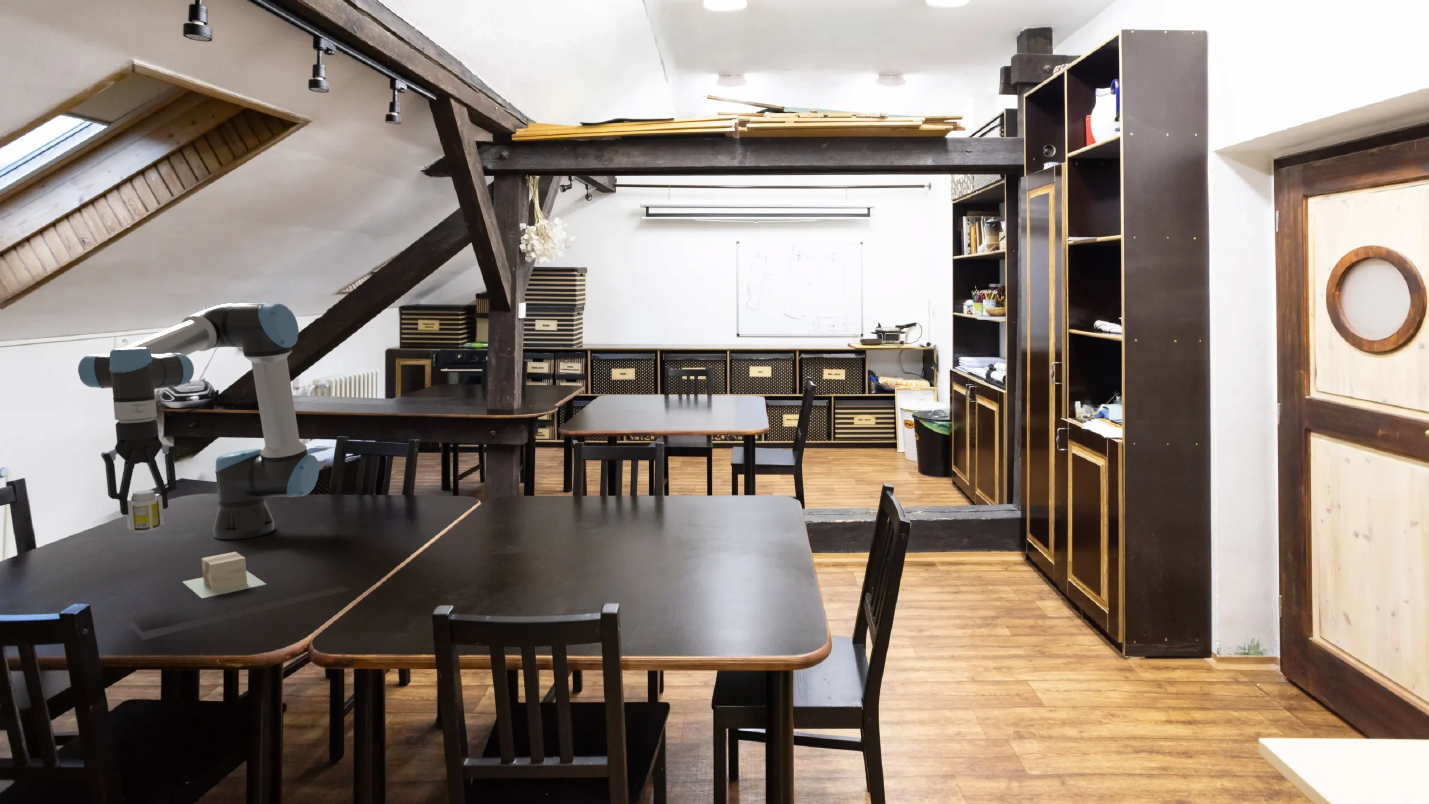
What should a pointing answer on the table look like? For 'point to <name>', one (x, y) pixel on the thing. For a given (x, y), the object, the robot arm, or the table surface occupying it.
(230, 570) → the beech block
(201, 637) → the table surface
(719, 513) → the table surface
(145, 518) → the supplement bottle
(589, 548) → the table surface
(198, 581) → the board
